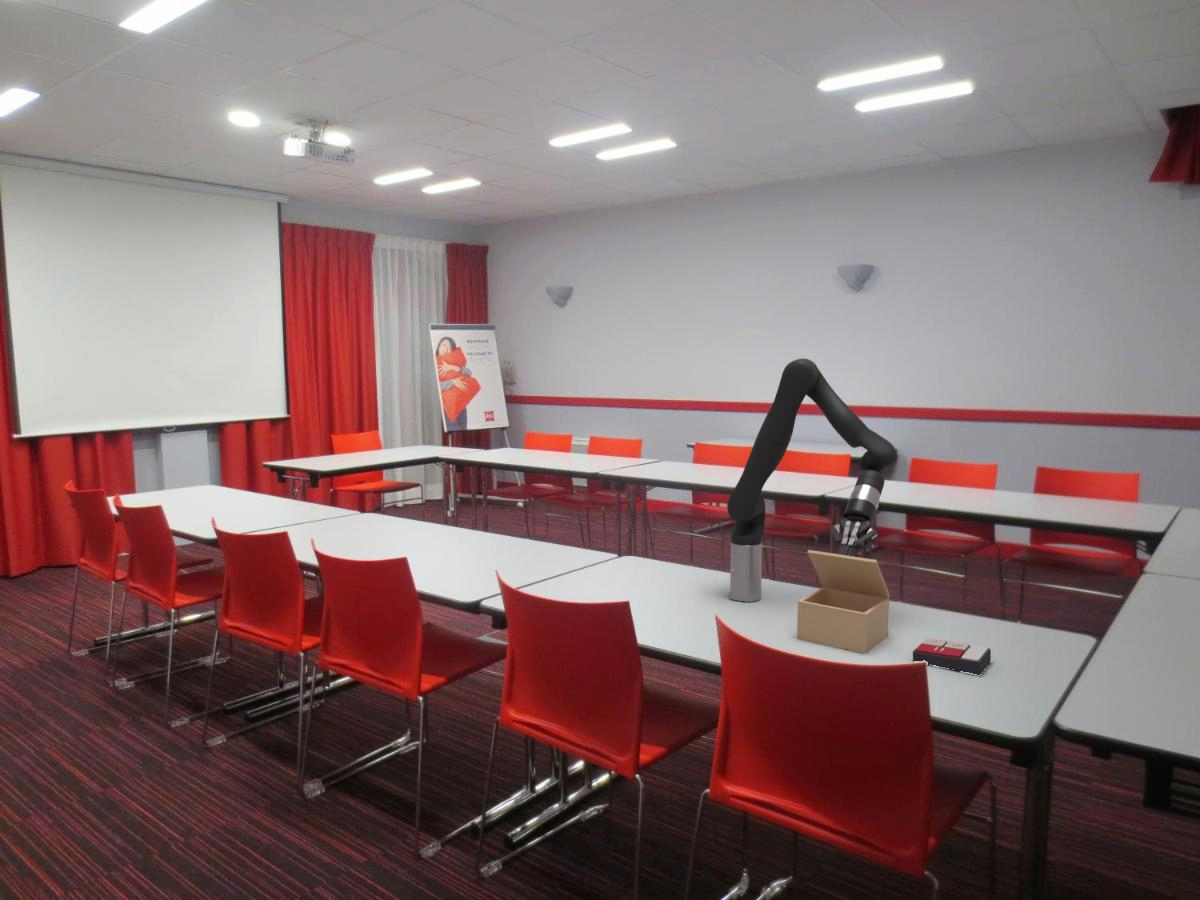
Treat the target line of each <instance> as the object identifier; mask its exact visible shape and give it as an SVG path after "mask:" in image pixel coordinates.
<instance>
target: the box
mask: <svg viewBox="0 0 1200 900" xmlns="http://www.w3.org/2000/svg"><path fill="white" fill-rule="evenodd" d="M889 611H890V598H886V597H880V596H874V595H869V594H863V593H857V592H852V591H846V590H840V589H835V588H829V587H823V586H822V587H820V588H818V589H817V590H816V591H814V592H812V593H810V594H808V595H806V596H805V597H803V598H801V599H799V600H797V616H796V617H797V618H796V619H797V621H796V622H797V630H796V634H797V635H796V639H797V640H800V641H801V640H802V641H805V642H811V643H814V642H816V644H819V643H820V644H821V645H823V644H824V646H828V645H830V646H829V647H832V646H834V647H833V648H837V647H839V648H838V649H841V648H843V649H842V650H846V649H848V651H850V650H852V651H851V652H855V651H858V652H857V653H859V652H862V653H861V654H863V653H866V652H867V653H869V652H870V651H871V650H872V649H873V647H874V648H875V647H876V646H877V645H878V644H880V643H881V642H883V640H885V639H886V638H887V637H889V614H890V612H889ZM825 644H826V645H825ZM869 650H870V651H869ZM867 653H866V654H867Z"/></svg>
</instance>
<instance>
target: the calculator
mask: <svg viewBox="0 0 1200 900" xmlns="http://www.w3.org/2000/svg"><path fill="white" fill-rule="evenodd" d="M991 652H992V651H991V648H989V647H988V646H982V645H980V646H979V645H975V644H972V645H970V643H964V642H958V641H951V640H948V641H947V640H946V639H945V640H944V639H937V638H936V639H935V638H931V637H926V639H924V640H923V641H922V642H921V643H920V644H919V645H918V646H917V647H916V648H915V649H914V650H913V651H912V662H913V661H923V660H925V661H927V662H928V665H930V664H931V665H936V666H939V667H945V668H949V669H954V670H958V671H957V672H959V671H963V672H969V673H973V674H977V675H980V674H981V673H982V672H983V671H984V669H985V668H986V667H987V665H988V664H989V663H990V661H991V657H992V656H991V655H992V654H991ZM991 662H992V661H991ZM990 664H991V663H990ZM990 664H989V665H990ZM928 665H927V666H928ZM987 668H988V667H987ZM987 668H986V669H987ZM954 670H953V671H954ZM984 672H985V671H984ZM984 672H983V673H984Z"/></svg>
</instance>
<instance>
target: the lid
mask: <svg viewBox="0 0 1200 900" xmlns="http://www.w3.org/2000/svg"><path fill="white" fill-rule="evenodd" d="M807 555H808V557H809V559H810V561H811V564H812V565H813V567H814V570H815V571H816V575H817V576H818V578H819V581H820V583H821V585H822V587H825V588H831V589H837V590H842V591H848V592H853V593H859V594H865V595H870V596H876V597H882V598H887V599H890V597H891V595H890V592H889V590H888V587H887V583H886V582H885V578H884V576H883V573H882V570H881V568H880V566H879V562H878V560H877V559H873V558H872V559H871V558H867V557H866V558H865V557H857V556H853V555H852V556H846V555H840V554H839V553H833V552H826V551H819V550H811V549H808V550H807Z"/></svg>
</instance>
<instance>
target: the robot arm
mask: <svg viewBox="0 0 1200 900" xmlns="http://www.w3.org/2000/svg"><path fill="white" fill-rule="evenodd" d="M806 396H807V397H808V398H809V399H811V400H812V402H814V404H816V406H817V407H818V408H819V409H820V411H821V412H822V414H823V415H824V416H825V419H826V420H827V421H828V423H829V424H830V426H831V427H832V428H833V429H834V431H835V432H836V433H837V434H838V435H839V436H840V438H842V439H843V440H844V442H846V444H847V445H849V446H850V447H851V448H853V449H855V448H859V447H861V448H863V449H865V450H867V451H865V452H864V454H863V455H862V457H861V458H860V461H859V464H858V465H859V466H858V477H857V480H856V482H855V485H854V488H853V489H852V492H851V494H850V496H849V498H848V502H847V504H846V507H845V509H844V512H843V515H842V518H841V520H840V521H839V522H838V524H835V525H834V524H830V525H829V529H830V531H831V534H832V535H833V537H834V540H835V541H836V544H837V545H838V547H840V549H839V553H838V554H840V555H846V556H853V554H854V553H853V552H854V550H857V549H858V550H862V549H864V548H865V547H866V546H868V545H869V544H871V543H872V542H875V540H877V539H878V538H879V536H878V533H877V531H876V530H875V529H873V526H872V524H873V523H874V519H875V516H876V513H877V510H878V508H879V504H880V499H881V495H882V493H883V489H884V487H885V478H884V477H885V476H883V472H884V471H885V470H888V468H890V467H891V466H893V465H895V463H896V462H897V460H898V452H897V449H896V447H895V445H893V444H892V443H891V442H890V441H889V440H888V439H886V438H885V437H883V436H882V435H880V434H878V433H876V431H874V430H872V429H870V428H869V427H868V426H867V425H866V424H865V423H864V421H863V420H862V419H861V418H860V417H859V416H858V415H857V414H856V413H855V412H854V411H853V409H851V408H850V407H849V406H848V405H847V404H846V403H845V402H844V401H843V399H842V398H841V397H840V396H839V395H838V394H837V393H836V392H835V390H834V389H833V388H832V387H831V385H830V383H828V381H827V379H826V378H825V377H824V375H823V374H822V372H821V371H820V369H819V367H818V366H817V364H816V363H815V362H814V361H812V360H811V359H808V358H804V357H803V358H797V359H794V360H792V361H790V362H788V363H787V364H786V366H784V369H783V371H782V373H781V377H780V381H779V384H778V388H777V390H776V394H775V396H774V399H773V402H772V405H771V406H770V408H769V411H768V412H767V414H766V415H765V418H764V420H763V423H762V424H761V427H760V428H759V431H758V433H757V435H756V438H755V441H754V443H753V445H752V449H751V451H750V454H749V456H748V458H747V461H746V464H745V466H744V469H743V471H742V474H741V476H740V478H739V479H738V481H737V484H736V485H735V486H734V488H733V490H732V492H731V494H730V496H729V498H728V500H727V504H726V508H727V509H726V510H727V513H728V515H729V517H730V518H731V519H732V520H733V521H734V522H735V525H734V527H733V529H732V531H731V534H730V566H729V568H730V569H729V570H730V573H729V574H730V575H729V576H730V583H729V587H730V590H729V591H730V592H729V593H730V594H729V596H730V599H732V601H737V600H738V602H742V601H745V602H744V603H749V602H751V603H752V602H757V601H760V600H761V599H762V562H763V561H762V557H763V553H762V550H763V549H762V548H763V547H762V546H763V536H764V533H765V525H766V524H765V523H766V502H765V499H764V496H763V494H762V490H763V489H764V485H765V484H766V482H767V481H768V479H769V478H770V477H771V476H772V474H773V473H774V472H775V470H776V469H777V467H778V466H779V465H780V463H781V461H782V460H783V458H784V456H785V454H786V451H787V450H788V447H789V445H790V442H791V439H792V437H793V433H794V430H795V429H794V428H795V424H796V418H797V415H798V412H799V409H800V406H801V405H802V403H803V400H804V399H805V397H806ZM840 530H841V531H842V539H841V537H840V535H839V534H840V533H841V531H840Z"/></svg>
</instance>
